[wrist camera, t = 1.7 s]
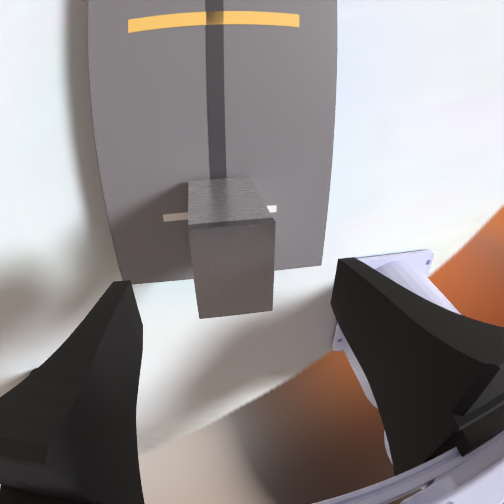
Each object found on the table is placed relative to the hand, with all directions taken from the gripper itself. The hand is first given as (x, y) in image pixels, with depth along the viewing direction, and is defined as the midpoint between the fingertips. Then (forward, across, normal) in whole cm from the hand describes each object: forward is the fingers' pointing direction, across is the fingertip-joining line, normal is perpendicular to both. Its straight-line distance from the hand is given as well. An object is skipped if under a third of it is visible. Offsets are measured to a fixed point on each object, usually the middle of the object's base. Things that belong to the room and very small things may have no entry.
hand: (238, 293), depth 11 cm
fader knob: (+7, 0, 0) cm, 7 cm away
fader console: (+9, 0, -6) cm, 11 cm away
